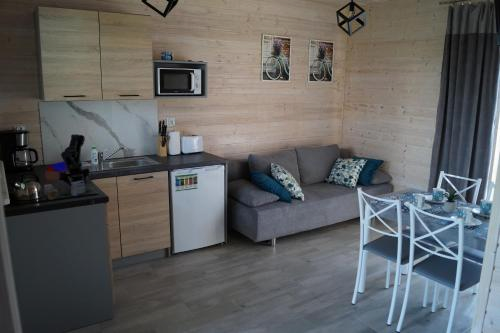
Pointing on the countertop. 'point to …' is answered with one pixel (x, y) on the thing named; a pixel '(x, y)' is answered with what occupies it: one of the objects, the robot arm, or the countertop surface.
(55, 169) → the house
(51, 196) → the walnut block
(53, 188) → the dark grey cylinder
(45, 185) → the terracotta block
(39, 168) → the countertop surface
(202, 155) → the countertop surface
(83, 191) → the medicine box
